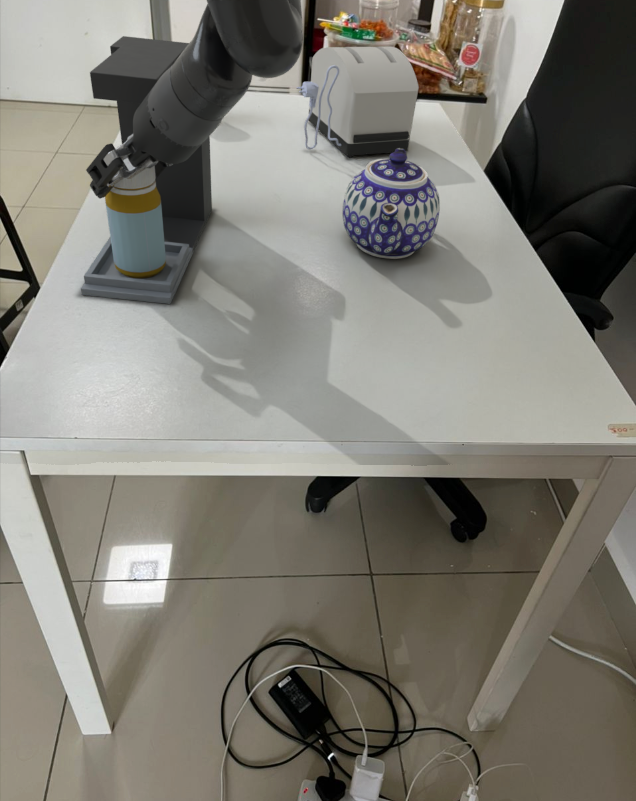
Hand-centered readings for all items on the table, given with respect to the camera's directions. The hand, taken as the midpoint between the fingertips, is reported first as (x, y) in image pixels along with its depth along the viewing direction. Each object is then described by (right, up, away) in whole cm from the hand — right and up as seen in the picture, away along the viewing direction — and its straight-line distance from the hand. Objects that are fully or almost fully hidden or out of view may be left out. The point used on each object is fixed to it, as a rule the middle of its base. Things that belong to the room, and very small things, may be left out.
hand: (123, 181), depth 83 cm
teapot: (+36, -3, +21) cm, 42 cm away
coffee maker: (+1, -5, +14) cm, 15 cm away
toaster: (+29, +27, +54) cm, 67 cm away
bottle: (0, -10, +7) cm, 12 cm away
